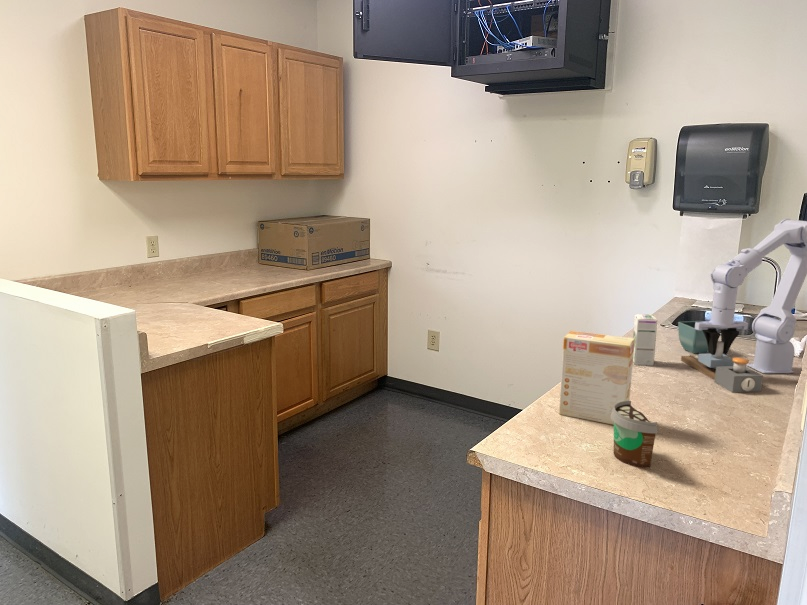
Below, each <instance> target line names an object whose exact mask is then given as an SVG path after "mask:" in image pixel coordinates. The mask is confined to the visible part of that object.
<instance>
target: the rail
mask: <svg viewBox="0 0 807 605" xmlns="http://www.w3.org/2000/svg"><path fill="white" fill-rule="evenodd" d="M698 358H699V355H698V354H696V353H692V352H689V355H681V358H680V361H681V362H682V363H684V364H686V365H688V366H690V367H691V368H693V369H695V370H697V371H698V372H700V373H702V374H704V375H705V376H707V377H709V378H711V380H714V381H715V373H716V368H710V367H708V366H706V365H704V364H703V363H701V362H699V361H698Z"/></svg>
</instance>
